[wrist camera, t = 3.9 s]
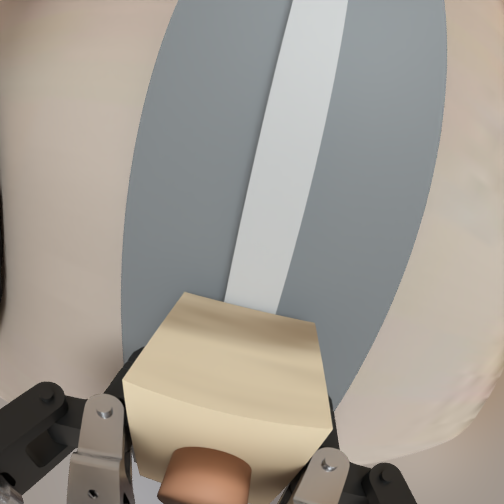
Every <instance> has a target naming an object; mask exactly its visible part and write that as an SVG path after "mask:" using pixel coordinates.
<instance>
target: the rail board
mask: <svg viewBox="0 0 504 504" xmlns="http://www.w3.org/2000/svg"><path fill="white" fill-rule="evenodd" d="M446 73H447V30H446V14H445V3H444V0H178V2H177V5H176V7H175V9H174V12H173V14H172V17H171V19H170V22H169V25H168V27H167V30H166V33H165V36H164V38H163V41H162V44H161V47H160V50H159V53H158V56H157V59H156V63H155V66H154V69H153V73H152V76H151V80H150V83H149V87H148V91H147V94H146V98H145V102H144V106H143V111H142V115H141V119H140V124H139V129H138V134H137V139H136V144H135V149H134V155H133V161H132V167H131V173H130V180H129V187H128V195H127V203H126V213H125V223H124V235H123V250H122V274H121V322H122V345H123V360H124V364H125V363H126V362H127V361H128V359H129V357H130V356H131V355H132V353H133V352H134V351H136V350H138V349H140V348H141V347H145V346H146V345H147V343H148V342H149V340H150V339H151V338H152V336H153V335H154V333H155V332H156V331H157V329H158V328H159V326H160V325H161V324H162V322H163V321H164V319H165V318H166V317H167V315H168V314H169V313H170V311H171V310H172V308H173V307H174V306H175V304H176V303H177V301H178V300H179V299H180V297H181V296H182V295H183V293H184V292H187V293H191V294H195V295H198V296H202V297H206V298H210V299H213V300H217V301H221V302H225V303H229V304H233V305H237V306H241V307H245V308H250V309H254V310H258V311H262V312H267V313H271V314H275V315H280V316H284V317H289V318H294V319H298V320H303V321H308V322H313V323H315V326H316V331H317V336H318V341H319V347H320V352H321V358H322V363H323V369H324V375H325V381H326V387H327V393H328V395H329V396H330V398H331V399H332V404H333V411H335V409H336V408H337V406H338V405H339V403H340V402H341V400H342V398H343V397H344V395H345V393H346V392H347V390H348V388H349V387H350V385H351V383H352V381H353V380H354V378H355V376H356V374H357V373H358V371H359V369H360V367H361V365H362V364H363V362H364V360H365V358H366V356H367V354H368V352H369V350H370V348H371V346H372V344H373V342H374V340H375V338H376V336H377V334H378V332H379V330H380V328H381V326H382V324H383V322H384V319H385V317H386V315H387V313H388V310H389V308H390V306H391V304H392V301H393V299H394V296H395V294H396V292H397V289H398V287H399V284H400V282H401V279H402V276H403V274H404V271H405V268H406V266H407V263H408V260H409V257H410V255H411V252H412V249H413V246H414V243H415V240H416V236H417V233H418V230H419V227H420V223H421V220H422V217H423V213H424V209H425V206H426V202H427V198H428V194H429V190H430V186H431V182H432V177H433V173H434V168H435V163H436V158H437V152H438V147H439V141H440V134H441V127H442V120H443V112H444V102H445V90H446ZM131 449H132V454H133V458H134V462H136V463H137V461H136V457H135V453H134V448H133V444H132V446H131Z"/></svg>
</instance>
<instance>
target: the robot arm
mask: <svg viewBox="0 0 504 504" xmlns="http://www.w3.org/2000/svg"><path fill="white" fill-rule="evenodd" d="M144 348H145V347H141V348H140V349H138V350H136V351H134V352H133V353H132V355H131V356H130V357H129V359H128V361H127V362H126V363H125V364H124V366H123V368H121V370H120V371H119V373H118V374H117V375H116V377H115V378H114V380H113V381H112V382H111V384H110V385H109V387H108V388H107V389H106V391H105V392H104V393H103V394H96V395H94V396H92V397H90V398H89V399H79V398H74V397H70V396H65V394H64V391H63V390H62V388H61V387H60V386H59V385H57V384H55V383H53V382H41V383H38V384H37V385H35V386H34V387H32V388H31V389H29V390H28V391H26V392H25V393H23V394H22V395H20V396H19V397H17V398H16V399H14V400H13V401H11V402H10V403H9V404H7V405H6V406H4V407H3V408H1V409H0V504H24V502H23V498H22V495H23V494H24V493H25V492H26V491H27V490H29V489H30V488H31V487H32V486H33V485H34V484H36V483H37V482H38V481H39V480H40V479H41V478H43V477H44V476H45V475H46V474H47V473H48V472H49V471H51V470H52V469H53V468H54V467H55V466H56V465H57V464H59V463H60V462H61V461H62V460H63V459H64V458H65V457H66V456H67V455H68V454H70V453H71V452H72V451H73V450H74V449H75V448H78V450H77V452H73V454H72V456H71V459H70V467H69V476H68V489H67V504H135V499H134V494H133V487H132V459H131V458H132V456H131V455H132V449H131V446H132V439H131V434H130V428H129V423H128V417H127V411H126V405H125V398H124V390H123V382H122V379H123V378H124V376H125V375H126V373H127V372H128V371H129V369H130V368H131V366H132V365H133V363H134V362H135V360H136V359H137V358H138V356H139V355H140V353H141V352H142V350H143V349H144ZM328 399H329V406H330V413H331V419H332V426H333V430H332V431H331V432H330V434H329V435H328V436H327V438H326V439H325V440H324V442H323V443H322V444H321V446H320V447H319V448H318V450H317V451H316V452H315V453H314V455H313V456H312V457H311V458H310V460H309V461H308V462H307V463H306V464H305V466H304V467H303V468H302V469H301V470H300V471H299V473H298V474H297V475H296V476H295V477H294V478H293V479H292V480H291V482H290V483H289V484H288V485H287V487H286V488H285V490H284V492H283V494H282V496H281V498H280V499H279V501H278V503H277V504H417V503H416V501H415V499H414V497H413V495H412V493H411V491H410V489H409V487H408V485H407V483H406V481H405V479H404V478H403V476H402V474H401V472H400V470H399V469H398V468H397V467H396V466H394V465H392V464H390V463H379V464H377V465H376V466H374V467H373V468H372V469H371V468H367V467H364V466H360V465H356V464H353V463H351V462H349V460H348V458H347V456H346V455H345V454H344V453H343V452H342V451H340V449H339V443H338V436H337V429H336V422H335V419H334V418H335V416H334V411H333V404H332V399H331V398H330V396H329V395H328Z"/></svg>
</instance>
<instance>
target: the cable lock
mask: <svg viewBox="0 0 504 504" xmlns="http://www.w3.org/2000/svg"><path fill="white" fill-rule="evenodd" d="M2 257H3V244H2V237H1V228H0V301H1V297H2V281H1V267H2Z"/></svg>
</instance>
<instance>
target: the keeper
mask: <svg viewBox="0 0 504 504" xmlns="http://www.w3.org/2000/svg"><path fill="white" fill-rule="evenodd" d="M122 382H123V390H124V398H125V405H126V411H127V417H128V423H129V428H130V434H131V439H132V444H133V448H134V453H135V457H136V461H137V465H138V469H139V473H140V475H141V476H144V477H146V478H149V479H152V480H155V481H157V482H161V487H160V489H159V492H158V495H157V497H158V499H159V500H160V501H161V502H162V503H163V504H248V503H250V504H270V502H272V501H273V500H274V498H275V497H276V496H277V495H278V494H279V493H280V492H281V491H282V490H283V489H284V488H285V487H286V486H287V485H288V484H289V483H290V482H291V480H292V479H293V478H294V477H295V476H296V475H297V474H298V473H299V471H300V470H301V469H302V468H303V467H304V466H305V464H306V463H307V462H308V461H309V460H310V458H311V457H312V456H313V455H314V453H315V452H316V451H317V450H318V448H319V447H320V446H321V444H322V443H323V442H324V440H325V439H326V438H327V436H328V435H329V434H330V432H331V431H332V430H333V426H332V419H331V413H330V406H329V399H328V393H327V387H326V381H325V375H324V369H323V363H322V358H321V352H320V347H319V341H318V336H317V331H316V326H315V323H313V322H308V321H303V320H298V319H294V318H289V317H284V316H280V315H275V314H271V313H267V312H262V311H258V310H254V309H250V308H245V307H241V306H237V305H233V304H229V303H225V302H221V301H217V300H213V299H210V298H206V297H202V296H198V295H195V294H191V293H187V292H184V293H183V295H182V296H181V297H180V299H179V300H178V301H177V303H176V304H175V306H174V307H173V308H172V310H171V311H170V313H169V314H168V315H167V317H166V318H165V319H164V321H163V322H162V324H161V325H160V326H159V328H158V329H157V331H156V332H155V333H154V335H153V336H152V338H151V339H150V340H149V342H148V343H147V345H146V346H145V348H144V349H143V350H142V352H141V353H140V355H139V356H138V358H137V359H136V360H135V362H134V363H133V365H132V366H131V368H130V369H129V371H128V372H127V373H126V375H125V376H124V378H123V379H122Z"/></svg>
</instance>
